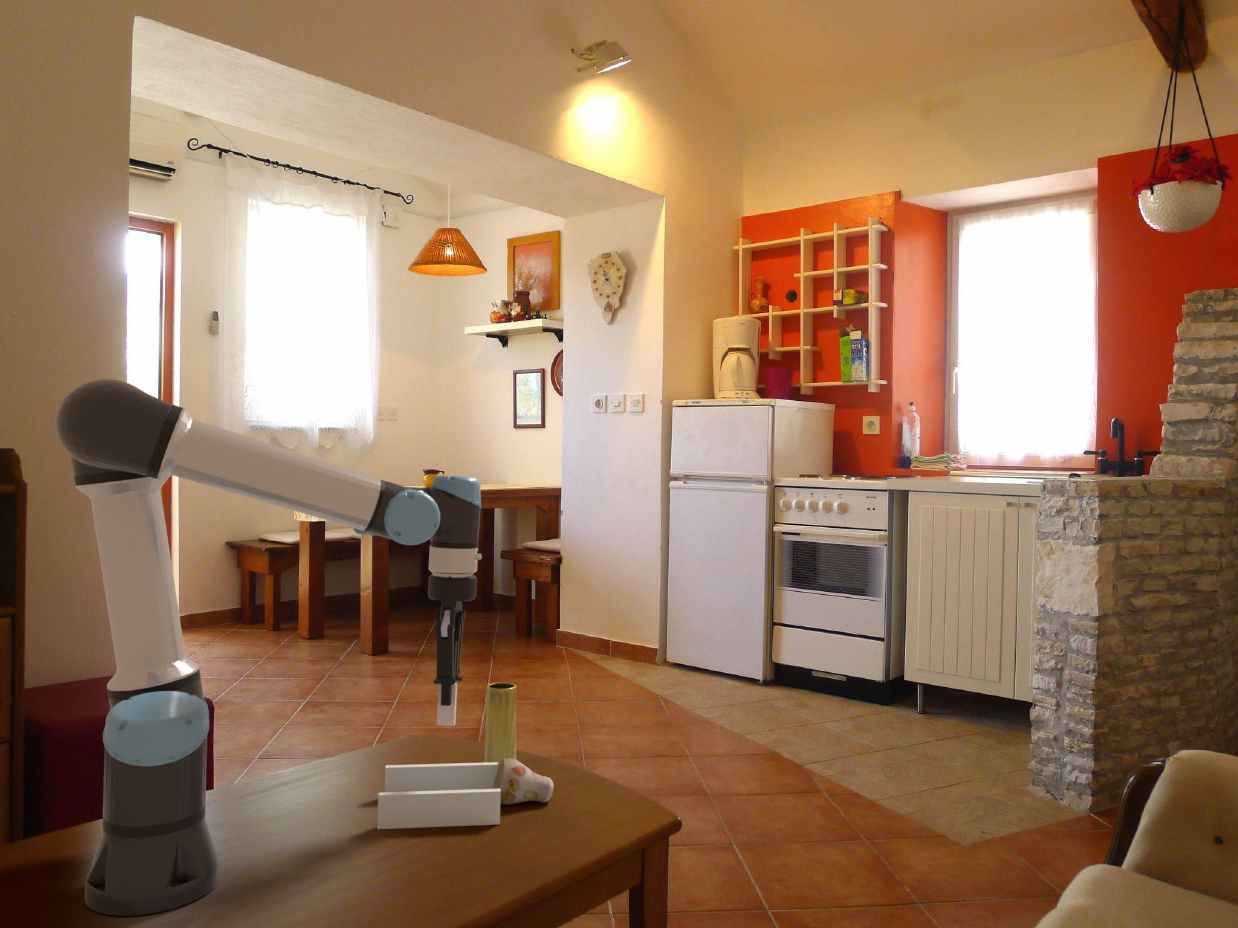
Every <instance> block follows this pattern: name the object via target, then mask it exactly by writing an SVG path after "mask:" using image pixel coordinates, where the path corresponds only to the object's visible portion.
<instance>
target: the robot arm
mask: <svg viewBox="0 0 1238 928" xmlns="http://www.w3.org/2000/svg"><path fill="white" fill-rule="evenodd" d="M55 424H56V432H57V435H58V439H59V441H60V443H61V445H62V447H63V448H64V449H65V450H66V451H67V452H68V454H69V456H70V462H71V467H72V468H71V469H72V473H73V479H74V485H75V489H76V490H78V491H79V492H81V493H82V494H84V495H86V496H87V497H88V498H89V499H90V504H91V509H92V517H93V523H94V524H93V525H94V530H95V531H94V532H95V536H96V542H97V548H98V549H97V550H98V555H99V556H98V557H99V562H100V569H101V573H102V574H101V576H102V581H103V587H104V594H105V595H104V596H105V600H106V601H105V602H106V607H107V613H108V619H109V626H110V632H111V639H112V644H113V645H112V646H113V651H114V658H115V665H116V671H115V673H114V675H113V676H112V678H110V680H109V681H108V682H107V684H106V687H107V688H106V689H107V696H108V701H109V702H108V703H109V709H110V710H109V712H108V713H107V715H106V718H105V726H104V728H103V732H102V742H103V746H104V755H103V756H104V757H103V759H104V761H103V762H104V763H103V764H104V765H103V768H104V769H103V798H102V801H103V804H102V833H101V837H100V840H99V842H98V845H97V847H96V850H95V854H94V856H93V859H92V861H91V865H90V867H89V869H88V873H87V875H86V877H85V881H84V904H86V906H87V907H88V908H89V909H91V911H94V912H96V913H99V914H104V915H110V916H117V917H118V916H120V917H125V916H126V917H129V916H130V917H131V916H143V915H150V914H157V913H160V912H161V913H162V912H166V911H170V910H173V909H177V908H179V907H182V906H186V905H188V904H190V903H192V902H195V901H197V900H199V899H201V898H202V897H204V896H205V895H208V893H209V892H211V891H212V890H213V889H214V888H215V887H216V885H217V884H218V882H219V877H220V875H219V874H220V873H219V872H220V860H219V857H218V854H217V851H216V848H215V845H214V841H213V839H212V836H211V833H210V831H209V827H208V824H207V821H206V820H207V819H206V807H207V806H206V804H207V802H206V801H207V766H208V764H207V759H208V734H209V731H210V714H209V706H208V703H207V701H206V700H205V696H204V691H203V685H202V679H201V677H202V676H201V671H200V665H199V664H198V663H197V662H195V661H193V660H192V659H190V658H188V657H187V656H186V651H185V645H184V644H185V643H184V638H183V637H184V636H183V632H182V624H181V618H180V611H179V605H178V598H177V591H176V585H175V579H174V571H173V565H172V557H171V551H170V545H169V538H168V532H167V525H166V524H167V523H166V519H165V511H164V506H163V498H162V492H161V490H162V487H164V485H165V483H166V482H167V481H168V480H169V478H170V477H171V476H174V477H178V478H180V479H185V480H187V481H191V482H195V483H198V484H201V485H205V486H209V487H211V488H215V489H217V490H218V489H219V490H222V491H226V492H229V493H233V494H236V495H239V496H243V497H246V498H250V499H253V500H256V501H260V502H263V503H267V504H269V505H270V504H271V505H273V506H277V507H281V508H283V509H287V510H291V511H294V512H298V513H300V514H305V515H308V516H311V517H315V518H319V519H322V520H325V521H328V522H332V523H335V524H338V525H342V526H345V527H349V528H352V529H353V531H354V532H355V534H357V535H364V536H365V535H366V536H371V537H375V536H378V537H382V538H385V539H388V540H392V541H394V542H395V543H398V544H401V545H404V546H415V545H416V546H417V545H421V544H423V543H426V542H427V541H429V540H430V542H429V543H430V544H429V556H428V558H429V559H428V570H429V571H430V572H431V574H430V575H429V576H428V584H427V585H428V586H427V587H428V588H427V597H428V598H429V599H430V600H433V601H438V602H439V601H440V602H441V606H440V609H439V611H437V612H436V625H435V632H436V633H435V634H436V677H435V679H434V680H433V684H434V685H438V687H437V688H438V689H437V711H436V726H445V727H447V726H448V727H455V725H456V718H457V698H458V697H457V696H458V682H462V681H463V675H461V676H459V674H460V672H461V657H462V645H463V635H464V621H465V620H466V610H463V602H470V601H473V600H475V599H476V598H477V591H478V590H477V588H478V587H477V586H478V578H477V576H476V575H474V574H475V573H476V572H477V571H478V561H481V560H482V558H483V556H482V553H478V551H479V539H480V523H481V510H482V497H481V491H482V490H481V482H480V480H479V479H478V478H476V477H474V476H465V475H464V476H463V475H462V476H461V475H442V474H441V475H439V474H438V475H436V476H435V477H433V479H432V484H431V486H427V487H426V486H425V487H424V486H423V487H415V486H414V487H413V486H403V485H400V484H397V483H394V482H392V481H386V480H384V479H381V478H377V477H375V476H372V475H369V474H366V473H363V472H360V471H357V470H353V469H350V468H348V467H347V468H346V467H343V466H341V465H337V464H335V463H332V462H328V461H325V460H322V459H319V458H315V457H312V456H309V455H306V454H304V453H300V452H296V451H294V450H290V449H288V448H284V447H281V446H278V445H275V444H273V443H268V442H265V441H263V440H259V439H256V438H253V437H249V436H247V435H244V434H240V433H237V432H234V431H231V430H228V429H224V428H221V427H219V426H216V425H212V424H209V423H206V422H203V421H200V420H197V419H194V418H192V416H191V415H190V413H189V411H188V409H186V408H185V407H181V406H179V405H176V404H173V403H170V402H167V401H164V400H163V399H160V398H158V397H156V396H153V395H151V394H149V393H147V392H145V391H144V390H142V389H140V388H138V387H137V386H135V385H133V384H131V383H129V382H125V381H123V380H117V379H111V378H110V379H107V378H104V379H103V378H101V379H94V380H92V381H88V382H85V383H83V384H80V385H79V386H77V387H76V388H74V389H73V390H72V391H71V392H69V393H68V394H67V396H66V397H65V398H64V399H63V401H62V402H61V403H60V406H59V407H58V411H57V414H56V423H55Z"/></svg>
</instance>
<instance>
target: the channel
mask: <svg viewBox="0 0 1238 928" xmlns="http://www.w3.org/2000/svg"><path fill="white" fill-rule="evenodd" d="M497 771H498V762H489V763H483V762H462V763H460V762H458V763H429V764H428V763H425V764H423V763H422V764H419V763H418V764H388V765H387V764H386V765H385V770H384V772H385V773H384V775H385V776H384V778H385V779H384V791H383V792H378V795H377V827H376V828H377V830H389V829H390V830H391V829H393V830H394V829H417V828H419V829H420V828H438V827H439V828H442V827H445V828H447V827H467V826H491V825H493V826H494V825H501V804H500V799H501V790H500V789H493V787H494V782H495V778H496V774H497Z"/></svg>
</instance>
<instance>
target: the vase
mask: <svg viewBox="0 0 1238 928" xmlns="http://www.w3.org/2000/svg"><path fill="white" fill-rule="evenodd" d="M485 706H486V708H485V709H486V713H485V716H486V717H485V719H486V720H485V721H486V722H485V739H484V749H483V750H484V753H483V761H482V763H489V762H498V768H499V765H500V763H501V761H502V759H503V758H511V759H515V760H517V761H518V759H517V685H516V684H515V683H512V682H503V681H502V682H501V681H500V682H491V683H489V684H488V685H487V686H486V705H485Z"/></svg>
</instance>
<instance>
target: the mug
mask: <svg viewBox="0 0 1238 928" xmlns="http://www.w3.org/2000/svg"><path fill="white" fill-rule="evenodd" d="M554 785H555V784H554V782H553V780H552V779H551V778H550V777H548V776H544V775H541V774H538V773H536V772H534V771H533V770H531V769H530V768H529V767H528V766H526V764H525V765H524V764H523V763H522V762H520V761H519V760H518V759H517V760H515V759H511V758H503V759H502V761H501V763H500V765H499V768H498V771H497V774H496V778H495V782H494V787H493V789H500V790H501V799H500V805H505V806H508V805H514V804H521V803H525V802H531V801H532V802H538V803H547V802H548V801H550V800H551V798H552V796H553V791H554V787H555V786H554Z"/></svg>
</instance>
